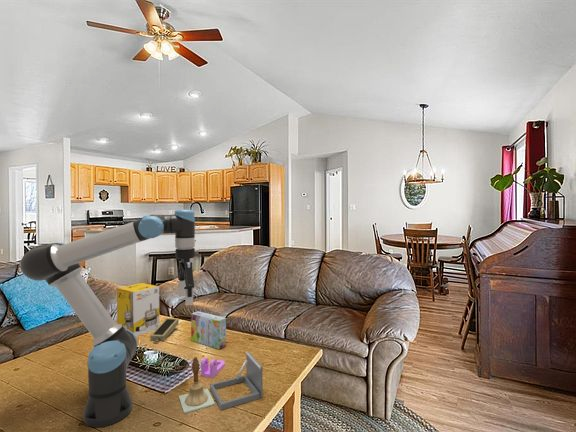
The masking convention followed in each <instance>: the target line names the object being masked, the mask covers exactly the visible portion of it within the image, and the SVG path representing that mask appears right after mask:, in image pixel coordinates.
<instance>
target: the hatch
mask: <svg viewBox="0 0 576 432" xmlns="http://www.w3.org/2000/svg"><path fill="white" fill-rule="evenodd" d="M245 358H246V360H244V362H243V364H242V366H241V367H240V369H239V372H238V373H237V375H236V377H233V378H229V379H225V380H221V381H218V382H214V383H210V384H209V390H210V393H211V395H212V397H213V398H214V400H215V401H216V403H217V405H218V407H219V409H220V411H223V410H227V409H230V408H232V407H236V406H240V405H244V404H246V403H250V402H253V401H256V400H258V399H263V398H264V397H263V391H264V390H263V387H264V386H263V382H264V381H263V380H264V379H263V373H264V371H263V366H262V364H260V362H259V361H258V360H257V358H255V357H254V356H253V354H251V352H249V351H248V350H247V351H245ZM244 368H246V369H245V372H246V373H245V375H241V374H242V372H243V371H244ZM240 383H244V384H245V385H246V386H247V388H249V389H248V390H250V392H251V393H250V394H246V395H243V396H240V397H237V398H233V399H230V400H227V401H223V400H222V399H221V397H220V395H219V393H218V391H217V389H221V388H226V387H229V386H232V385H233V386H234V385H236V384H240Z"/></svg>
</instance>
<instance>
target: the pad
mask: <svg viewBox="0 0 576 432" xmlns="http://www.w3.org/2000/svg"><path fill="white" fill-rule="evenodd" d="M209 390H210V389H209V388H204V389H203V391H204V393H206V394H207V396H208V399H207V401H206V402H205V403H203V404H201V405H198V406H189V405H187V404H186V403H185V399H186V397H187V396H188V395H189V392H188V393H186V394H181V395H178V399H179V403H180V406H181V409H182V412H183V414H184V415H185V414H188V413H193V412H196V411H200V410H202V409H206V408H209V407H213V406H216V403H215V401H214V400H215V399H213V398H214V397H213V395H212V393H211V391H209Z"/></svg>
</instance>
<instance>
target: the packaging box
mask: <svg viewBox="0 0 576 432" xmlns="http://www.w3.org/2000/svg"><path fill="white" fill-rule="evenodd" d="M116 312H117V313H116V317H117V321H116V322H117V323H116V324H122V326H123V327H124V328H125V330H129V331H131V332H132V333H133V334H134V335H135V336H136V337H138V336H141V335H144V334H147V333H149V332H154V331H155V330H156V329H157V328H158V326H159V325H160V286H159V285H154V284H150V283H145V282H140V283H134V284H130V285H126V286H121V287H118V288H117V287H116Z"/></svg>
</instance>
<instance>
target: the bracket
mask: <svg viewBox="0 0 576 432" xmlns="http://www.w3.org/2000/svg"><path fill="white" fill-rule="evenodd" d="M225 366H226V360H225V361H224V360H223V359H215V358H213V359H211V360H210V361H209V358H208V357H203V358H202V360H201V362H200V371H201V372H200V374H201V375H200V377H206V378H212V379H213V378H215V376H216V375H217V374H218V373H219V372H220V371H221V370H222V369H223V368H224V367H225Z"/></svg>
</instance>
